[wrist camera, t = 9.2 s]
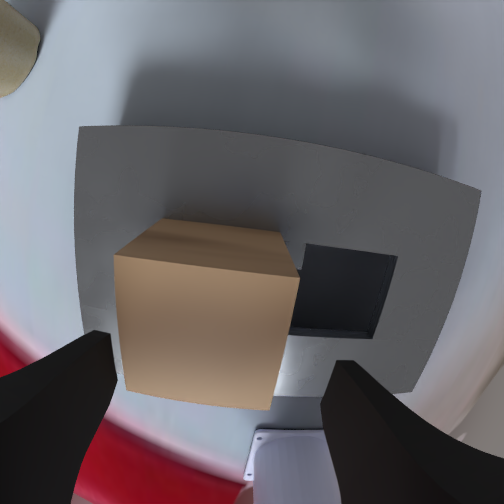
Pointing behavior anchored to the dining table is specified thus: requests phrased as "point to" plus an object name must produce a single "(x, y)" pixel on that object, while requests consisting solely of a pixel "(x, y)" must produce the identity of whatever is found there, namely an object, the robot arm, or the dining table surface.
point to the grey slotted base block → (281, 231)
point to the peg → (204, 312)
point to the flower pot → (15, 48)
